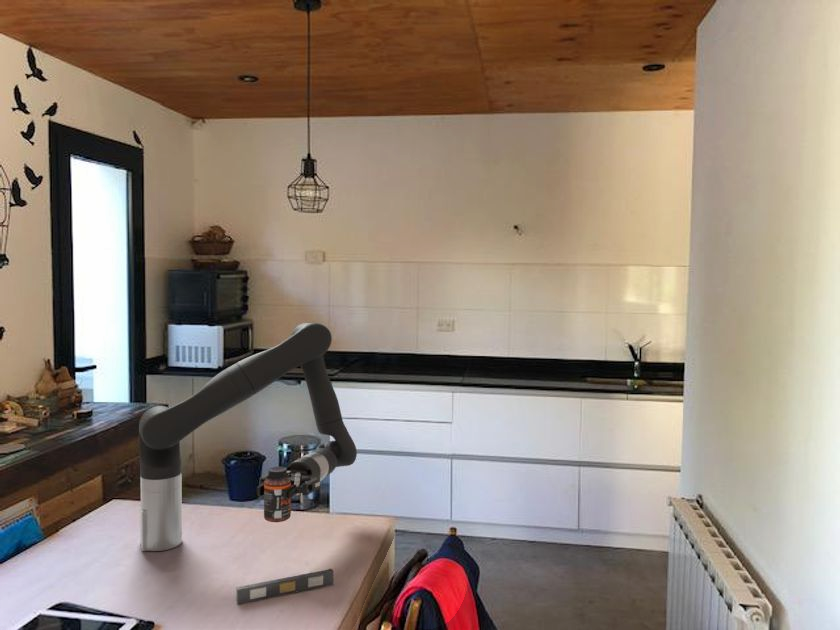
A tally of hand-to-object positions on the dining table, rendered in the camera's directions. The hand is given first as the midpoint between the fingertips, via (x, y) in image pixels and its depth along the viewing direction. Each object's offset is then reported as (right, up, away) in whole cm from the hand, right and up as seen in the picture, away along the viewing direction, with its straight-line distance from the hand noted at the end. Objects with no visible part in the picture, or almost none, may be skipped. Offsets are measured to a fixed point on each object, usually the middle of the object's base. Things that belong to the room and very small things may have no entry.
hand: (271, 493), depth 144 cm
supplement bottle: (+1, -7, +3) cm, 7 cm away
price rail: (+5, -18, -8) cm, 21 cm away
